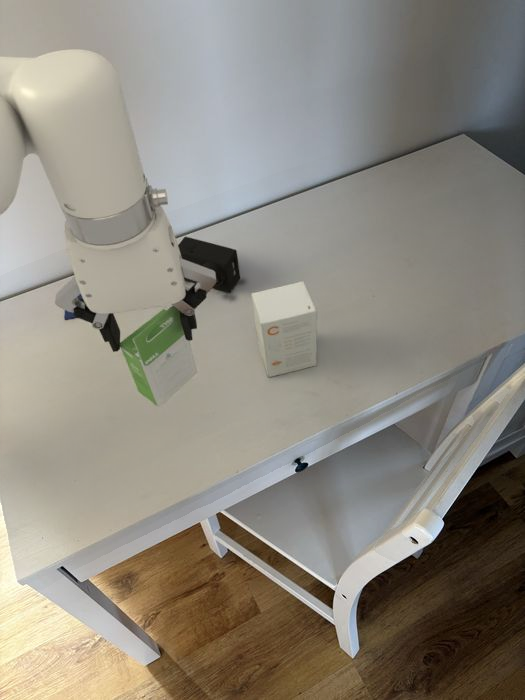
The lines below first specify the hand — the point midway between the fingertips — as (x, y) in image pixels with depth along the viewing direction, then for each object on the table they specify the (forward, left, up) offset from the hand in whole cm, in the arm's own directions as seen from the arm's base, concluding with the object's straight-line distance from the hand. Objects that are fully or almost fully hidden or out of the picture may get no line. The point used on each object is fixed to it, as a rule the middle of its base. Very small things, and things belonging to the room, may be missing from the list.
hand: (152, 335), depth 61 cm
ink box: (0, 0, -9) cm, 9 cm away
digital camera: (+6, +31, -23) cm, 39 cm away
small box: (+17, +11, -23) cm, 30 cm away
